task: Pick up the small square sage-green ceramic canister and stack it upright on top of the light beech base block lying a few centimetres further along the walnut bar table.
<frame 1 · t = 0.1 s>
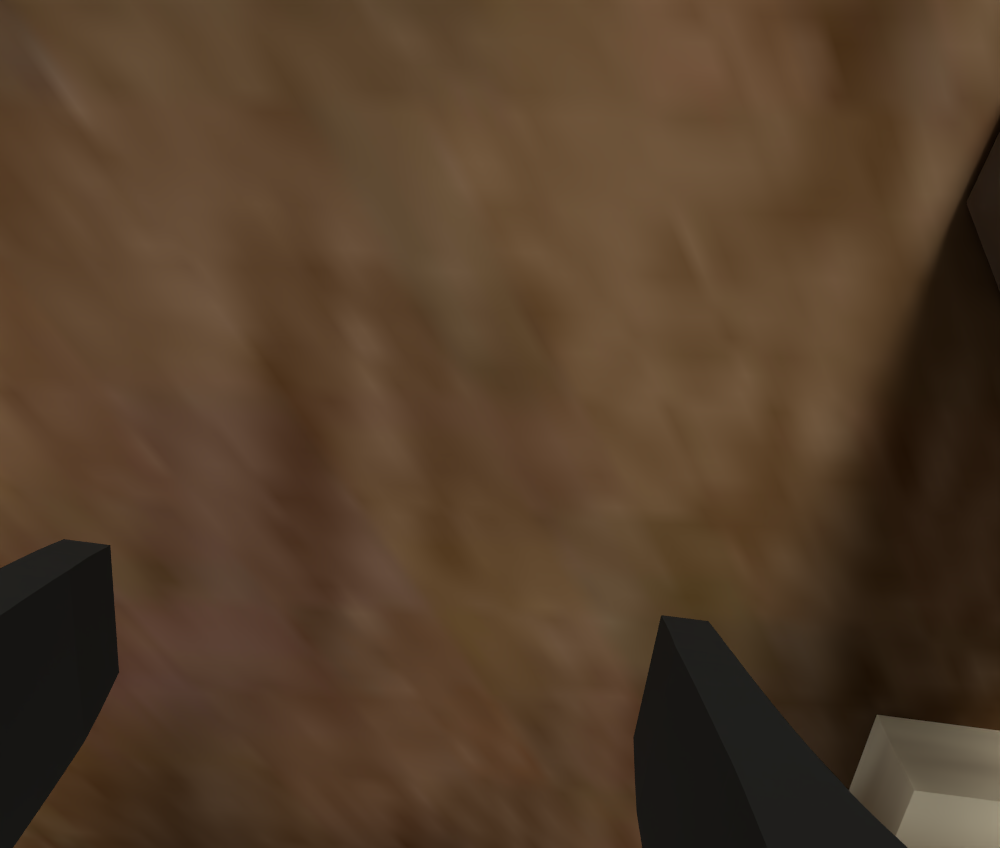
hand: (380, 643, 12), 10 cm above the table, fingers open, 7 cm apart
base block: (957, 816, 26), on the table
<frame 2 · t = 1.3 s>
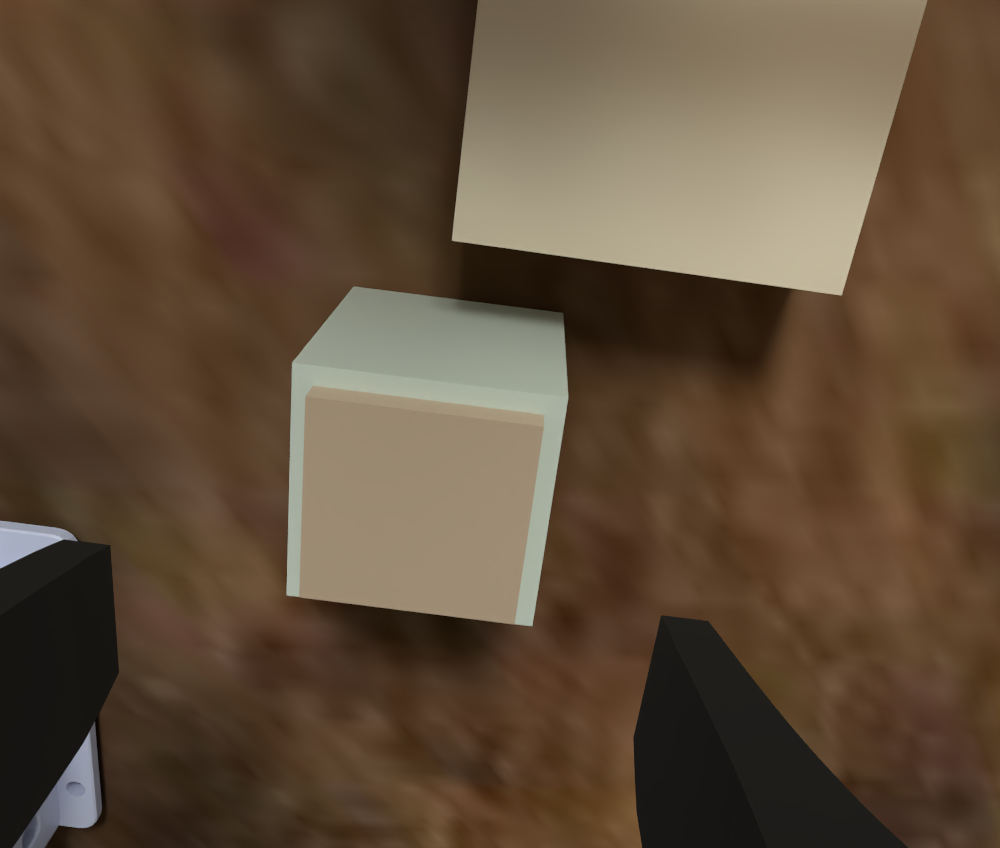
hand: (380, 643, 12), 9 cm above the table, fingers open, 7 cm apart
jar: (448, 396, 20), on the table
base block: (665, 55, 17), on the table
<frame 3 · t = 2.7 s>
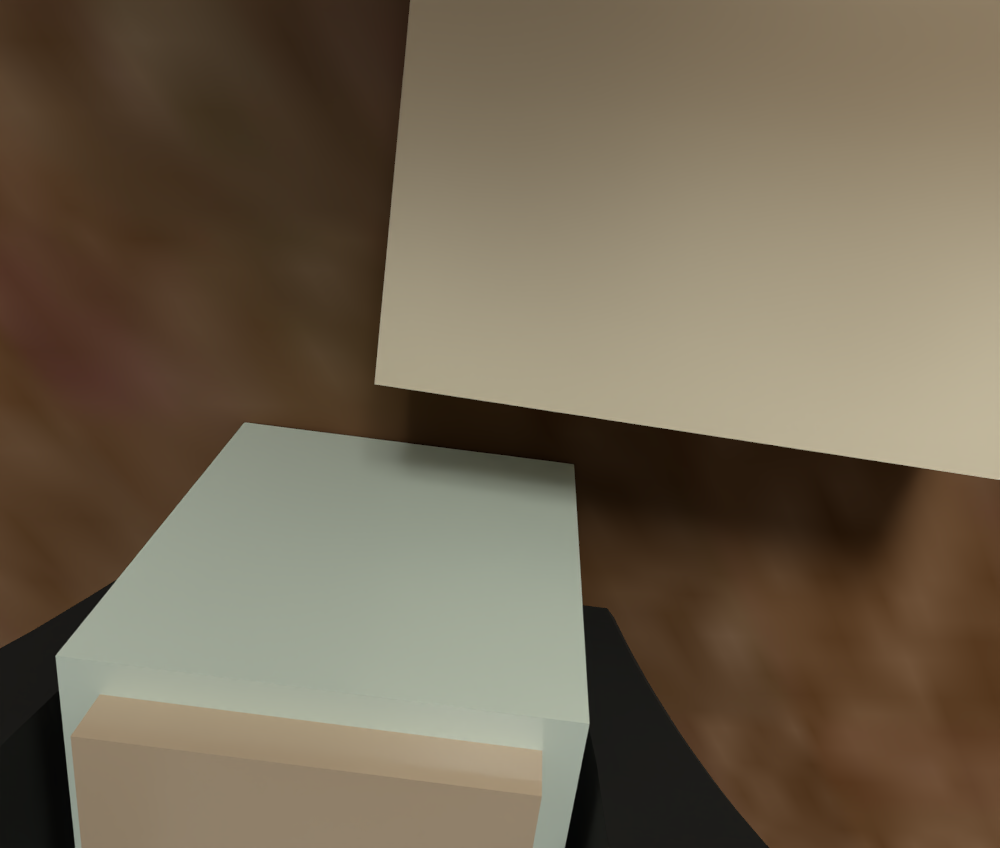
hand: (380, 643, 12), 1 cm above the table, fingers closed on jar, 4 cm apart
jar: (397, 582, 13), on the table, touching gripper
base block: (746, 59, 10), on the table
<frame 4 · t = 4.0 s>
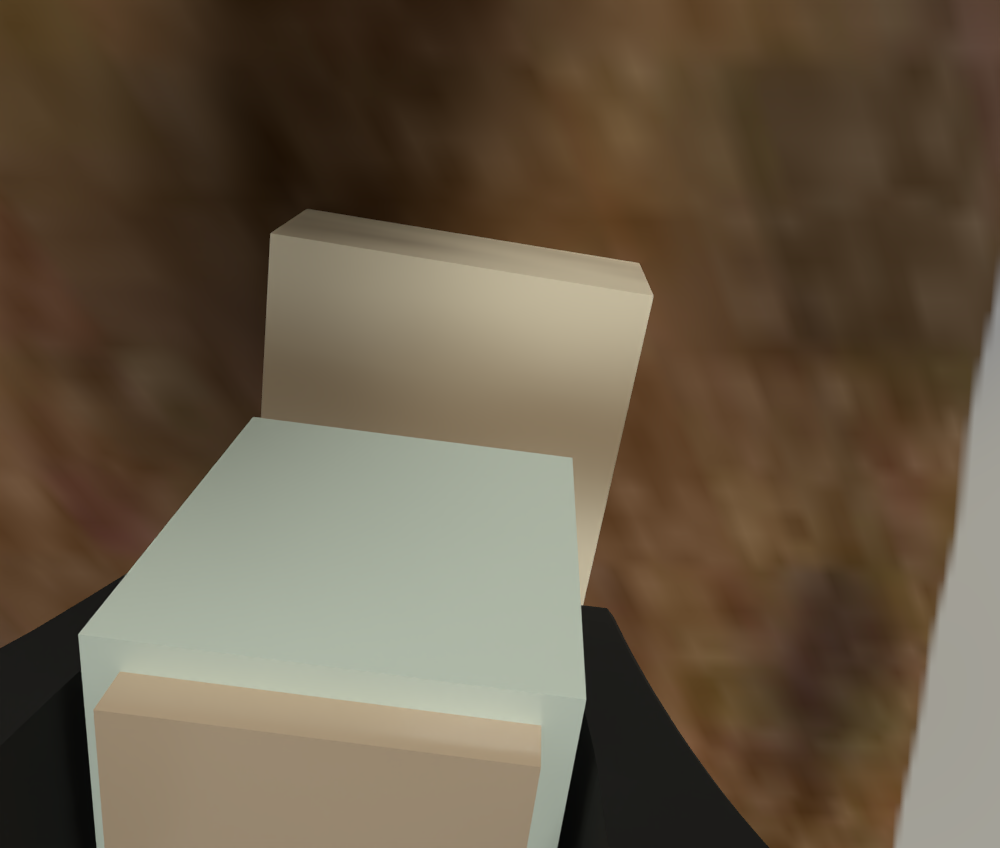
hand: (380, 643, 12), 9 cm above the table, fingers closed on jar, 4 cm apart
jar: (401, 573, 13), point 7 cm above the table, touching gripper
base block: (453, 385, 20), on the table
when the fingers open (5 cm above the table, at t = 5.3 s): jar drops 1 cm, resting on base block.
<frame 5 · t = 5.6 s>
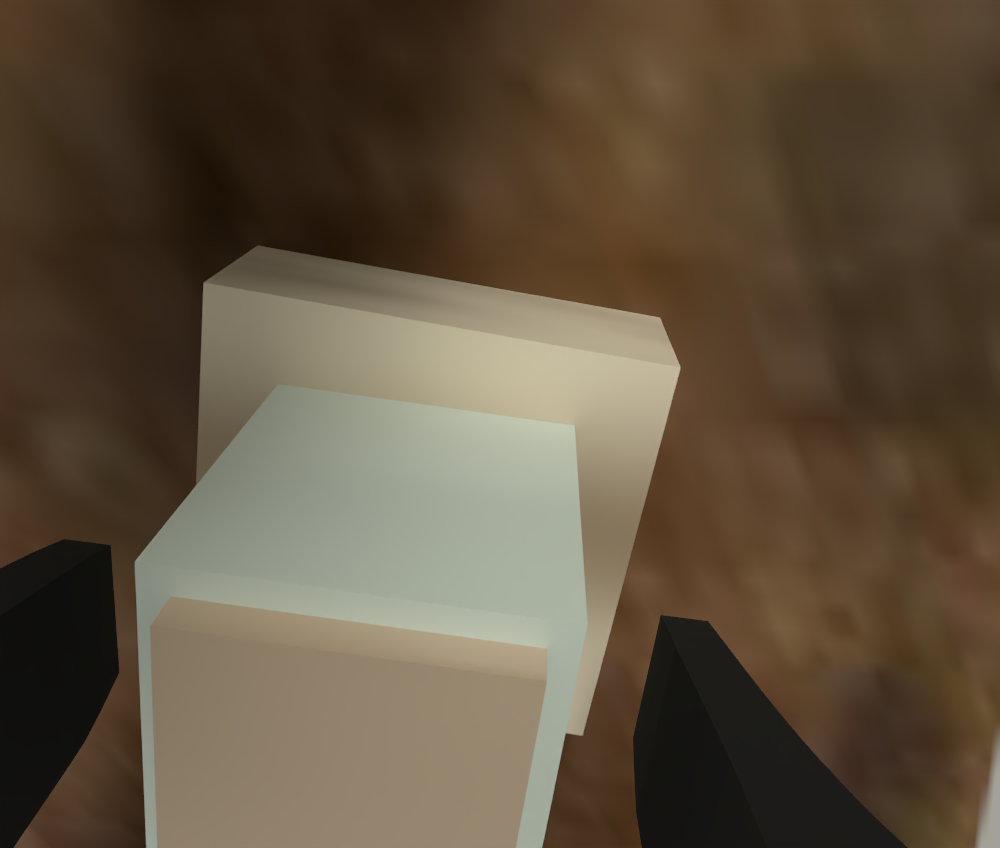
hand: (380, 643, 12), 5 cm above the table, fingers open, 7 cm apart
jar: (413, 533, 14), point 3 cm above the table, touching base block
base block: (434, 453, 17), on the table, touching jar
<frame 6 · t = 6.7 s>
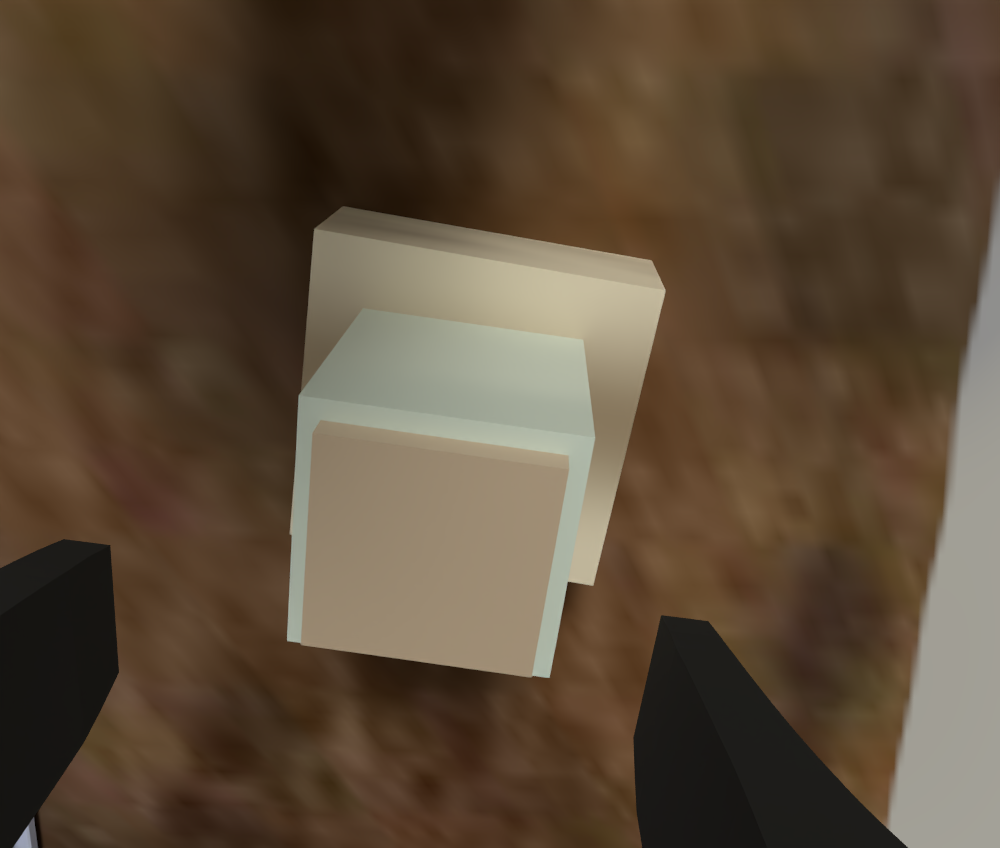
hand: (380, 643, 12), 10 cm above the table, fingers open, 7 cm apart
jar: (460, 425, 19), point 3 cm above the table, touching base block
base block: (475, 372, 22), on the table, touching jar
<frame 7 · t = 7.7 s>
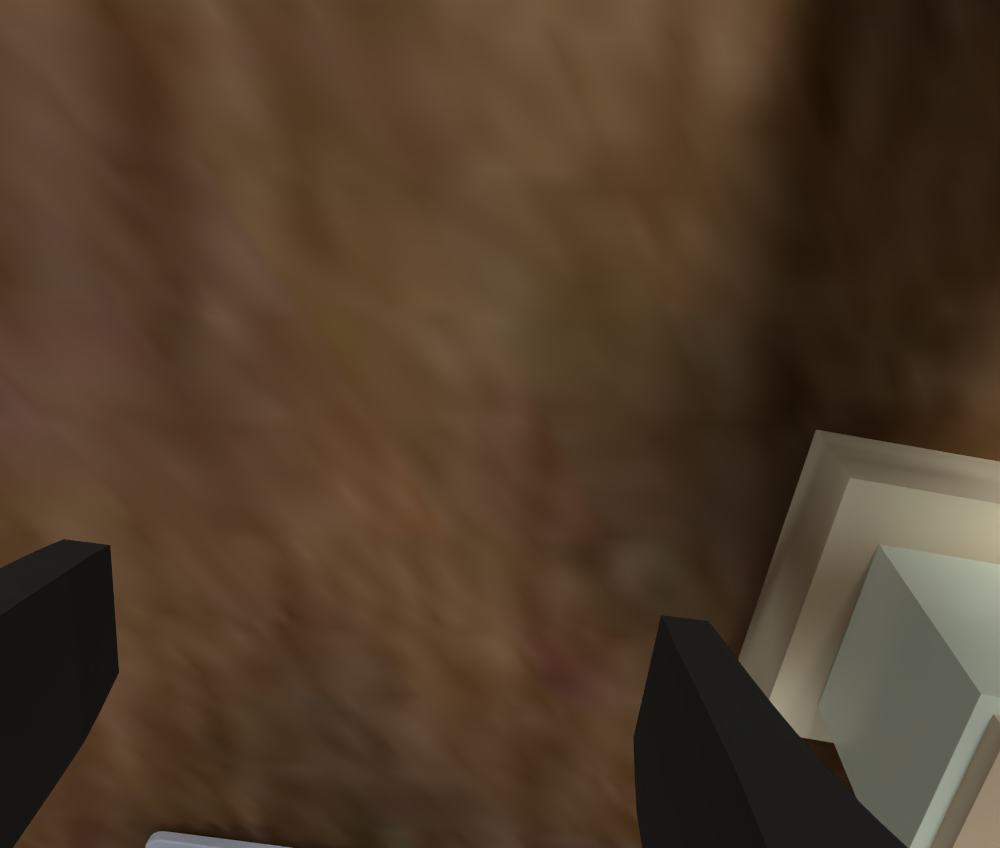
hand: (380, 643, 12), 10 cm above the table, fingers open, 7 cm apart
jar: (943, 644, 20), point 3 cm above the table, touching base block
base block: (902, 567, 23), on the table, touching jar
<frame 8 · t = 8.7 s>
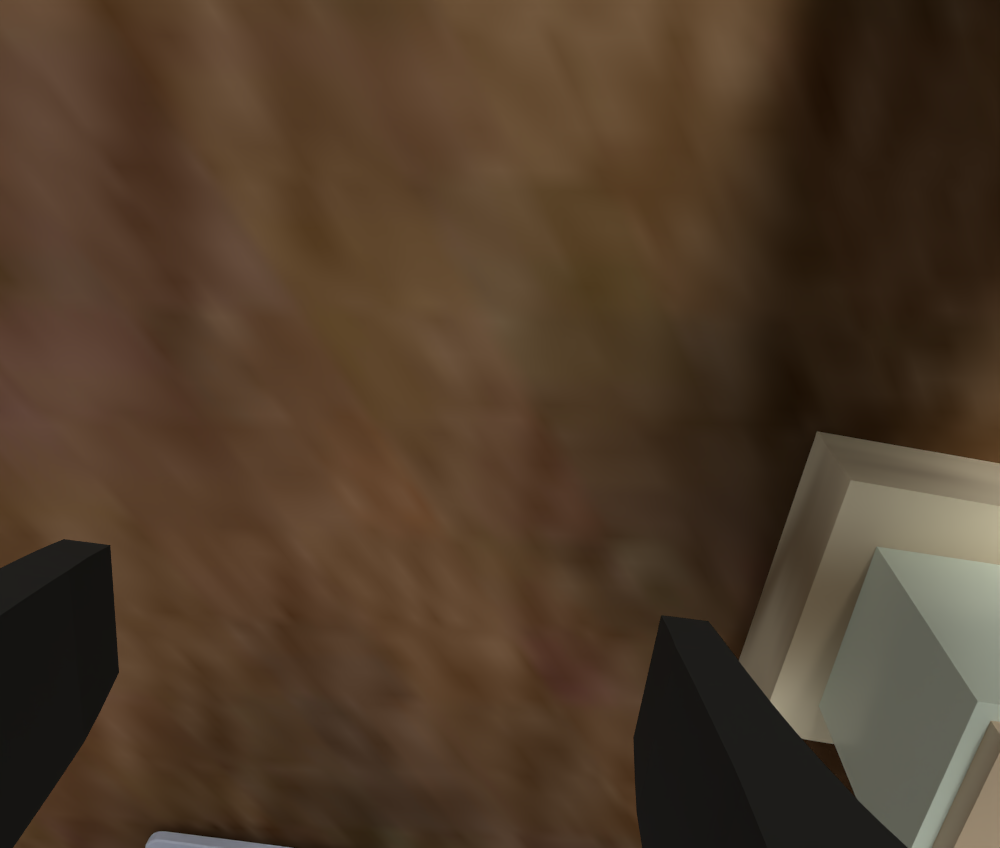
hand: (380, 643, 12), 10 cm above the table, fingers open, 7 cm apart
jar: (942, 644, 20), point 3 cm above the table, touching base block
base block: (902, 569, 23), on the table, touching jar
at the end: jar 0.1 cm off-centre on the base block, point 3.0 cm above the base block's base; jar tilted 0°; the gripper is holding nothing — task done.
